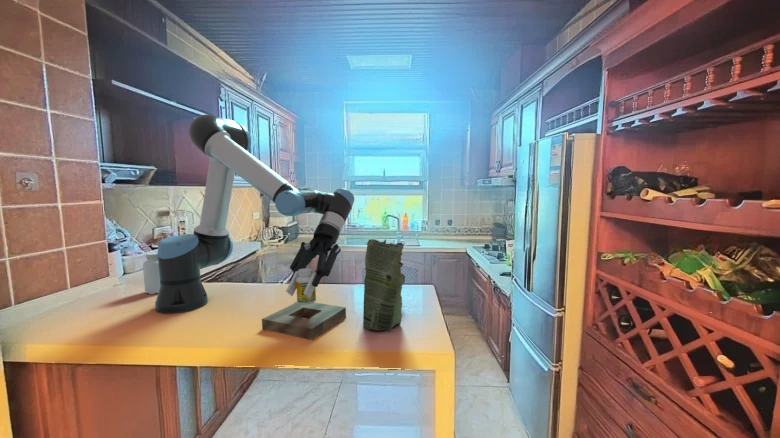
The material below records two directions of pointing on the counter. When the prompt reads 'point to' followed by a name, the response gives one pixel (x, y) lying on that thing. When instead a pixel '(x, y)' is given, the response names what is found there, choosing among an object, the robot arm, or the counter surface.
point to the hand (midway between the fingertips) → (297, 294)
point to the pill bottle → (151, 273)
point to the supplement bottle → (304, 286)
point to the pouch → (383, 285)
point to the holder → (296, 325)
